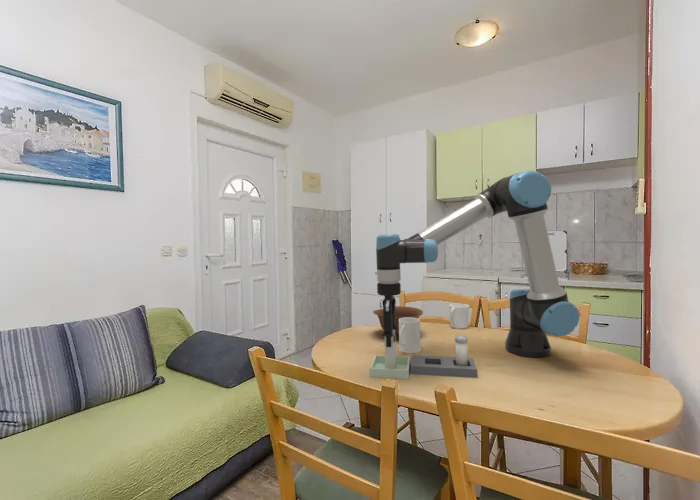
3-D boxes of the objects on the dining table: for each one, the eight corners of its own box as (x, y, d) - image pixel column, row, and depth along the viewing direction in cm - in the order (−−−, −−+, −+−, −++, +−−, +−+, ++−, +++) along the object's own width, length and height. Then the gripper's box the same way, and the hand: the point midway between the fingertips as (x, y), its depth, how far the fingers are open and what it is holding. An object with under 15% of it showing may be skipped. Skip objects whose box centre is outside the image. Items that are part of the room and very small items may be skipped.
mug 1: (408, 358, 124) (407, 325, 123) (389, 353, 129) (388, 322, 129) (425, 349, 132) (424, 319, 132) (406, 345, 138) (406, 316, 138)
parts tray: (410, 365, 117) (409, 356, 117) (408, 380, 105) (408, 370, 105) (375, 363, 119) (374, 355, 119) (369, 378, 108) (369, 368, 108)
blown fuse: (397, 367, 114) (396, 334, 114) (396, 371, 110) (395, 337, 110) (385, 367, 115) (385, 334, 115) (384, 371, 111) (383, 337, 111)
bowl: (366, 331, 160) (365, 308, 159) (409, 326, 166) (408, 304, 166) (385, 345, 139) (384, 318, 138) (433, 339, 145) (432, 313, 145)
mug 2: (456, 323, 169) (456, 302, 169) (473, 326, 162) (472, 305, 162) (443, 327, 162) (442, 306, 162) (460, 331, 155) (459, 308, 155)
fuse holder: (472, 366, 115) (472, 332, 114) (477, 379, 105) (476, 342, 104) (411, 363, 119) (411, 330, 118) (410, 375, 109) (410, 339, 108)
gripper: (380, 278, 121) (382, 342, 122) (372, 286, 102) (374, 362, 103) (402, 278, 120) (403, 343, 121) (398, 286, 101) (400, 364, 102)
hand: (390, 352), depth 112 cm, fingers open, 6 cm apart
